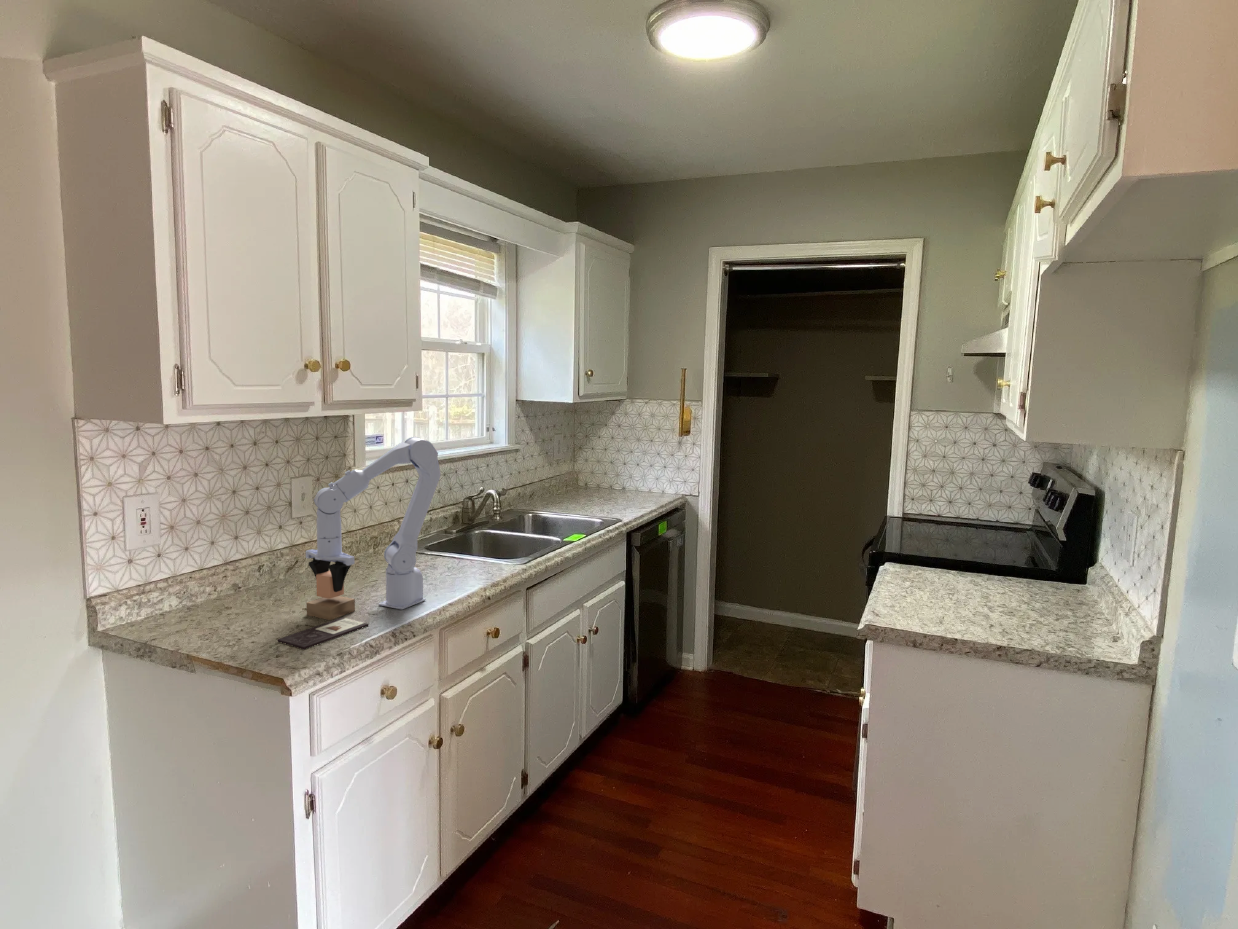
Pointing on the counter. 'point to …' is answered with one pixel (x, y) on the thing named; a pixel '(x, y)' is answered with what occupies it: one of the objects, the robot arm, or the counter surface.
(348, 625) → the chocolate bar
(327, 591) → the terracotta block
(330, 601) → the walnut base block
